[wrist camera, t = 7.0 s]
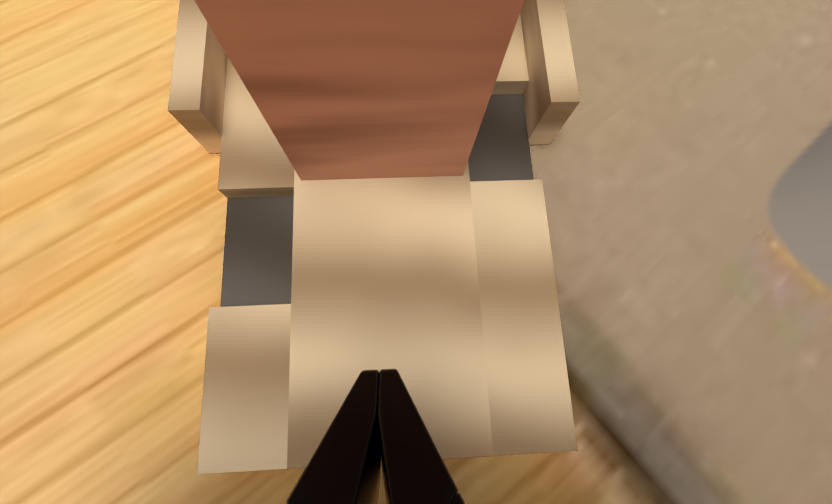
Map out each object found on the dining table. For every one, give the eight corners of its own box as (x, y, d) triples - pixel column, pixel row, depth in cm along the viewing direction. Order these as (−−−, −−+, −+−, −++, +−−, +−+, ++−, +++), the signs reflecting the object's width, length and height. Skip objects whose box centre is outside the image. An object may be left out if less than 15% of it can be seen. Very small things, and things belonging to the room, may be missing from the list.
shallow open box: (590, 440, 17) (639, 463, 13) (184, 464, 16) (125, 496, 12) (523, -45, 22) (544, -115, 19) (225, -44, 22) (192, -117, 18)
